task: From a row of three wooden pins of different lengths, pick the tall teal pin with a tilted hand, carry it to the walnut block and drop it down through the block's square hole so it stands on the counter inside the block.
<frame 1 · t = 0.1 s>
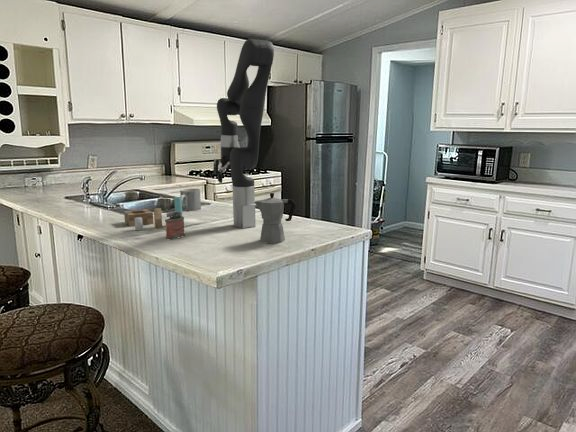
hand: (229, 182, 192), 17 cm above the countertop, tool pointing down, fingers open, 8 cm apart
coffee mug: (188, 209, 221), on the countertop
teal pin: (179, 224, 187), on the countertop
lighter: (175, 237, 166), on the countertop
walnut block: (139, 223, 191), on the countertop
grey pin: (139, 229, 178), on the countertop
coffeepot: (275, 240, 161), on the countertop
beech pin: (158, 227, 182), on the countertop
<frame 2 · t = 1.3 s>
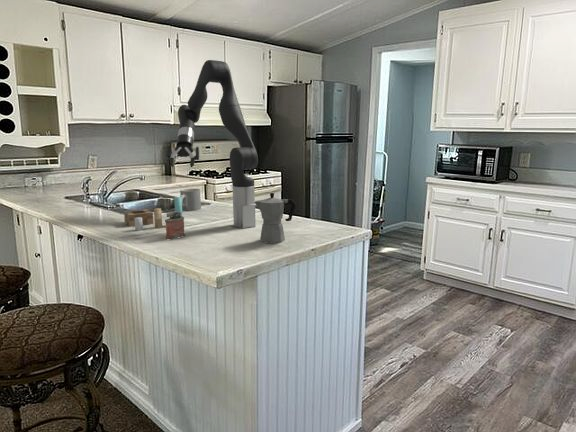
hand: (181, 166, 194), 24 cm above the countertop, tool tilted 45°, fingers open, 8 cm apart
nothing on the countertop moved.
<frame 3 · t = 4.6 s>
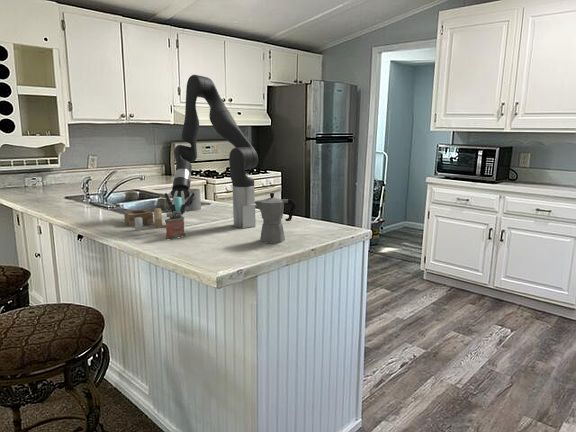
hand: (177, 213, 184), 5 cm above the countertop, tool tilted 45°, fingers closed on teal pin, 3 cm apart
teal pin: (179, 224, 187), on the countertop, touching gripper
everything else where it was.
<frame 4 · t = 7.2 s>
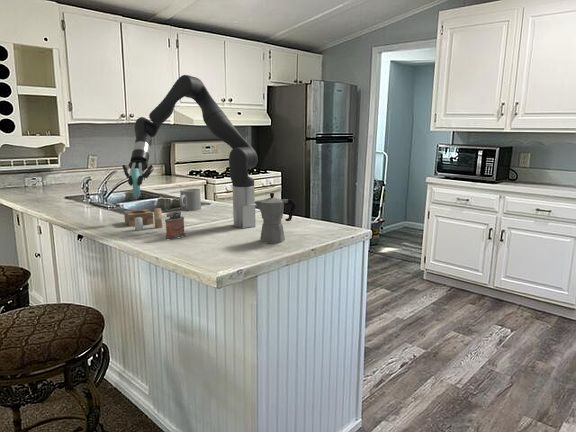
hand: (134, 184, 185), 17 cm above the countertop, tool tilted 45°, fingers closed on teal pin, 3 cm apart
teal pin: (137, 196, 188), point 12 cm above the countertop, touching gripper
everything else where it was.
when the fingers open (7 cm above the countertop, at t = 9.8 s): teal pin drops 2 cm, resting in walnut block.
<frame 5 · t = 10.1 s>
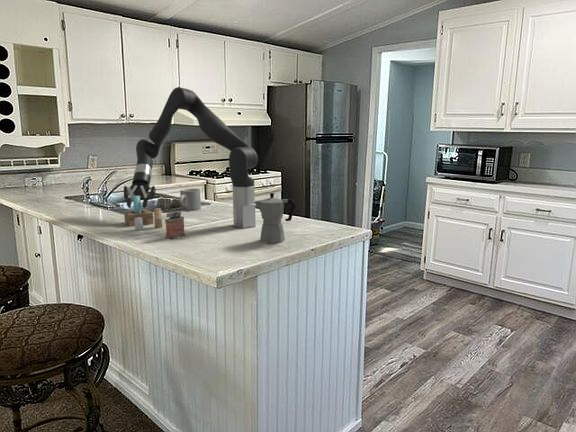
hand: (136, 206, 187), 8 cm above the countertop, tool tilted 45°, fingers open, 6 cm apart
teal pin: (138, 223, 191), resting in walnut block
everything else where it was.
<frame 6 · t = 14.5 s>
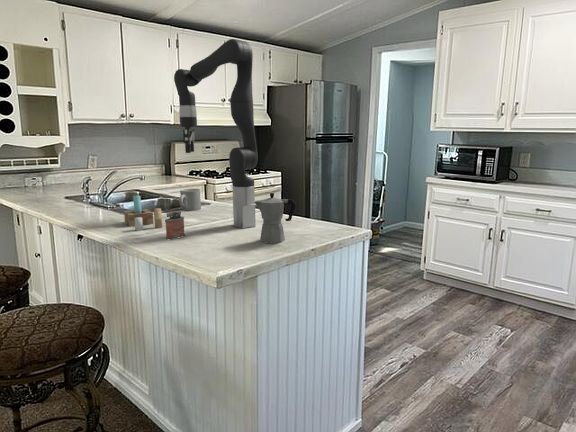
hand: (190, 152, 197), 30 cm above the countertop, tool pointing down, fingers open, 8 cm apart
nothing on the countertop moved.
at the end: teal pin 0.2 cm off-centre on the walnut block, point 0.0 cm above the walnut block's base; teal pin tilted 1°; the gripper is holding nothing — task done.
